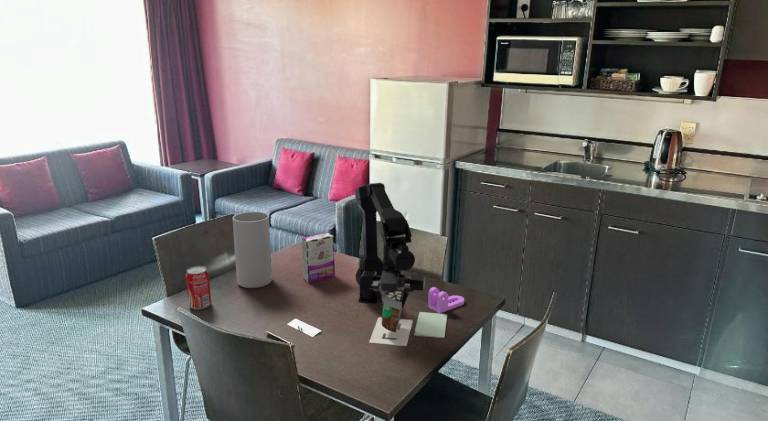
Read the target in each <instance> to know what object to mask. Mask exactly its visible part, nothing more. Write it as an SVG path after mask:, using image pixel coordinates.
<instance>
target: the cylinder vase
mask: <svg viewBox="0 0 768 421" xmlns="http://www.w3.org/2000/svg"><path fill="white" fill-rule="evenodd" d="M232 227H233V231H232V232H233V240H234V241H233V242H234V243H233V244H234V257H235V269H236V270H235V271H236V272H235V273H236V283H237V285H238V286H240V287H242V288H244V289H245V288H246V289H257V288H258V289H259V288H263V287H265V286H268V285H269V284H271V283H272V281H273V272H272V271H273V270H272V252H271V251H272V250H271V248H272V247H271V232H270V216H269V214H268V213H266V212H262V211H246V212H241V213H236V214H235V215H233V216H232Z"/></svg>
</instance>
